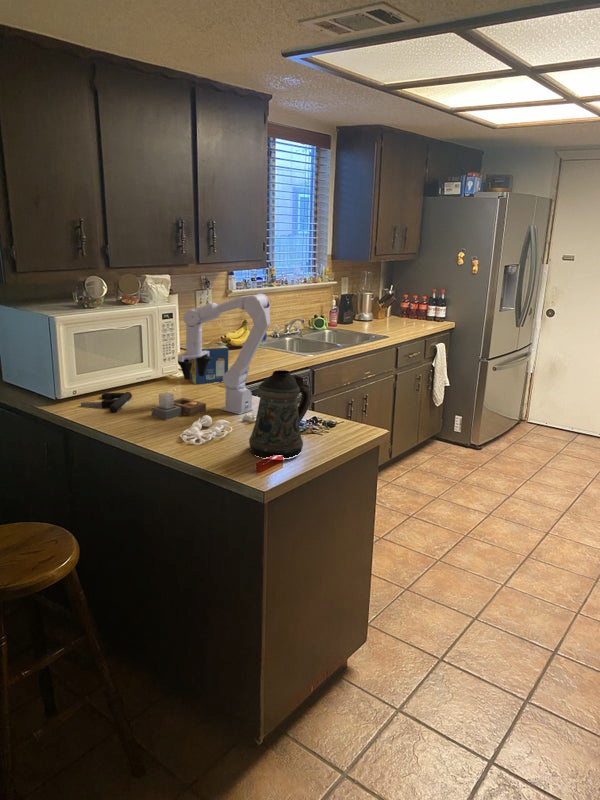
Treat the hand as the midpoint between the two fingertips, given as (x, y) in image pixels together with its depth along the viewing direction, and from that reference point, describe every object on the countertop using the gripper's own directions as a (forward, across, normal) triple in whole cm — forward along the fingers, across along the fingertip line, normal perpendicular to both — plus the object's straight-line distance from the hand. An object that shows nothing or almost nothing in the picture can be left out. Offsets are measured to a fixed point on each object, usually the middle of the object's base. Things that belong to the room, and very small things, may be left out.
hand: (194, 377), depth 226 cm
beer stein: (+11, +18, +53) cm, 57 cm away
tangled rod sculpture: (+11, +22, +28) cm, 37 cm away
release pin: (+10, +8, +7) cm, 15 cm away
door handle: (+11, +22, -23) cm, 34 cm away
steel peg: (+10, +17, +3) cm, 20 cm away
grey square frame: (+10, +17, +3) cm, 20 cm away
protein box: (+11, -30, -21) cm, 38 cm away
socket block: (+10, +8, +4) cm, 14 cm away
